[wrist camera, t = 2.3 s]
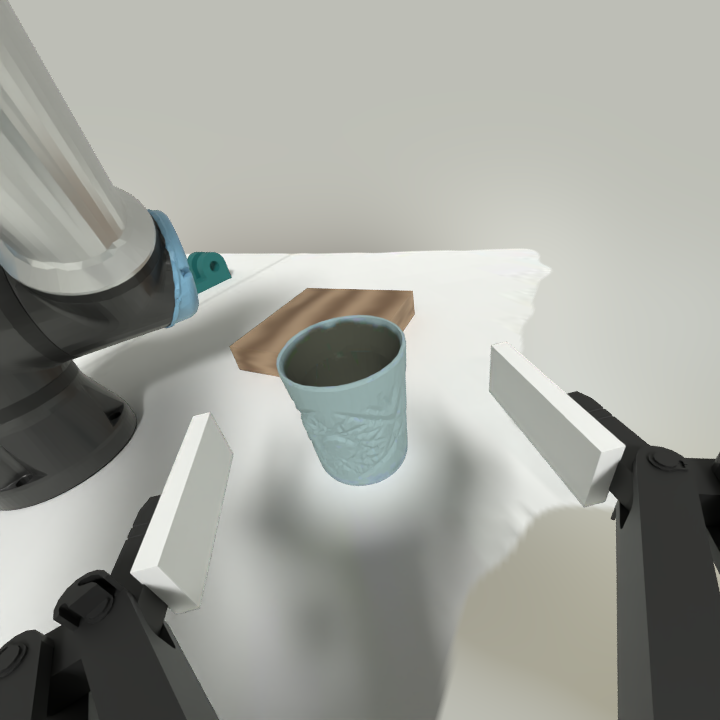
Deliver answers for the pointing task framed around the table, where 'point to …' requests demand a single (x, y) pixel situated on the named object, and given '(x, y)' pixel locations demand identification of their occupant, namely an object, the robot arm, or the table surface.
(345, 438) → the blue green cup
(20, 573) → the table surface
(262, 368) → the walnut riser
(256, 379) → the table surface
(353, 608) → the table surface
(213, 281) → the bracket
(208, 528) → the robot arm
